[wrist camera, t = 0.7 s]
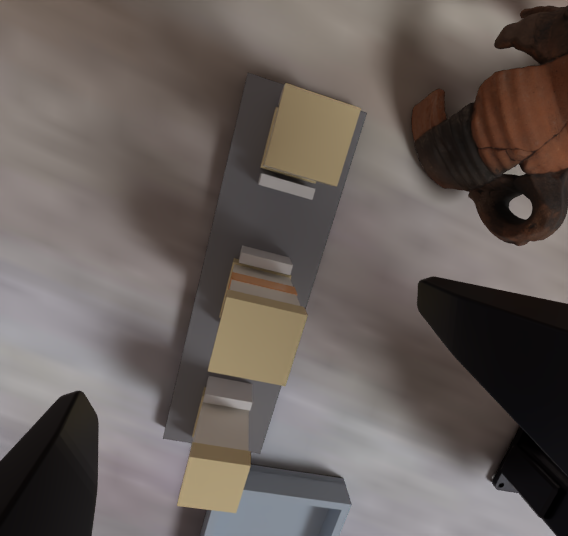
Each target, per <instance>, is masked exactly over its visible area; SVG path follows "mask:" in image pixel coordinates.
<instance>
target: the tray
mask: <svg viewBox="0 0 568 536" xmlns="http://www.w3.org/2000/svg"><path fill="white" fill-rule="evenodd" d="M351 505H352V504H351V501H350V498H349V494H348V491H347V488H346V485H345V482H344V478H337V477H331V476H324V475H317V474H311V473H304V472H297V471H291V470H284V469H277V468H271V467H264V466H258V465H251V467H250V470H249V473H248V476H247V480H246V483H245V486H244V489H243V493H242V496H241V499H240V502H239V506H238V509H237V512H236V513H230V512H222V511H214V510H207V512H206V515H205V519H204V522H203V526H202V529H201V533H200V536H339V535H340V532H341V530H342V527H343V525H344V523H345V520H346V518H347V515H348V513H349V510H350V508H351Z"/></svg>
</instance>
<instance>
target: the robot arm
mask: <svg viewBox="0 0 568 536" xmlns="http://www.w3.org/2000/svg"><path fill="white" fill-rule="evenodd" d="M417 306H418V310H419V312H420V313H421V315H422V316H423V317H424V319H425V320H426V321H427V322H428V324H429V325H430V326H431V328H432V329H433V330H434V332H435V333H436V334H437V335H438V337H439V338H440V339H441V341H442V342H443V343H444V345H445V346H446V347H447V348H448V350H449V351H450V352H451V353H452V354H453V355H454V357H455V358H456V359H457V360H458V361H459V362H460V363H461V364H462V365H463V366H464V367H465V368H466V369H467V370H468V372H469V373H470V374H471V375H472V376H473V377H474V378H475V379H476V380H477V381H478V382H479V383H480V384H481V385H482V386H483V387H484V388H485V390H486V391H487V392H488V393H489V394H490V395H491V396H492V397H493V398H494V399H495V400H496V401H497V402H498V403H499V404H500V405H501V406H502V408H503V409H504V410H505V411H506V412H507V413H508V414H509V415H510V416H511V417H512V418H513V419H514V420H515V421H516V422H517V423H518V424H519V426H520V428H519V430H518V432H517V434H516V436H515V438H514V440H513V442H512V444H511V446H510V448H509V450H508V452H507V454H506V456H505V457H504V459H503V461H502V463H501V465H500V467H499V469H498V471H497V473H496V475H495V477H494V479H493V481H492V484H493V485H494V486H495V488H496V489H497V490H502V491H508V492H514V493H519V494H520V495H521V497H522V498H523V499H524V500H525V501H526V503H527V504H528V505H529V506H530V507H531V508H532V510H533V511H534V512H535V513H536V514H537V516H538V517H540V518H542V519H543V521H544V522H545V523H546V524H547V525H548V527H549V528H550V529H551V530H552V531H553V532H554V534H555V535H556V536H568V304H566V303H561V302H556V301H551V300H546V299H541V298H536V297H531V296H527V295H522V294H517V293H512V292H507V291H502V290H497V289H492V288H488V287H483V286H478V285H473V284H468V283H463V282H458V281H453V280H449V279H444V278H439V277H429V278H426V279H423V280H421V281H419V283H418V296H417ZM97 484H98V417H97V414H96V412H95V411H94V409H93V407H92V406H91V404H90V402H89V401H88V399H87V397H86V396H85V394H84V393H83V392H82V391H75V392H72V393H69V394H66V395H63V396H61V397H60V398H59V399H58V400H57V401H56V402H55V403H54V404H53V405H52V406H51V407H50V408H49V409H48V410H47V411H46V412H45V414H44V415H43V416H42V417H41V418H40V419H39V420H38V421H37V422H36V423H35V424H34V425H33V427H32V428H31V429H30V430H29V431H28V432H27V433H26V434H25V435H24V436H23V437H22V438H21V439H20V441H19V442H18V443H17V444H16V445H15V446H14V447H13V448H12V449H11V450H10V451H9V452H8V453H7V455H6V456H5V457H4V458H3V459H2V460H1V461H0V536H92V528H93V520H94V513H95V505H96V496H97Z"/></svg>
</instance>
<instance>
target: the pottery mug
mask: <svg viewBox="0 0 568 536" xmlns="http://www.w3.org/2000/svg"><path fill="white" fill-rule="evenodd" d="M520 16H521V18H524V19H522V20H521V21H519V22H517V23H512V24H509V25H507V26H506V27H504V28H503V30H502V31H501V32H500V34H499V36H498V37H497V39H496V40H495V44H494V46H495V47H496V48H498V49H505V48H510V47H514V48H515V49H517V50H521V51H523V52H525V53H527V54H529V55H530V56H532V57H533V58H534V59H535V60H536V61H537V62H538V63H539V64H540V65H538V66H535V65H534V66H527V67H523V68H514V69H509V70H502V71H498V72H495V73H494V74H493V75H492V76H491V77H489V78H488V79H487V80H485V81H484V83H483V84H482V85H481V86H480V88H479V90H478V93H477V96H476V100H475V102H474V103H470V104H468V105H467V106H465V107H464V108H463V109H461V110H460V111H459V112H458V113H456V114H455V115H453V116H451V117H450V118H449V119H448V120H447V118H446V113H445V105H444V104H445V101H444V96H445V92H444V91H443V90H441V89H437V90H435V91H433V92H432V93H430V94H429V95H428V96H427V97H426V98H425V99H423V100H422V101H421V102H420V103H419V104H417V105H416V106H415V107H414V108H413V113H412V132H413V138H414V141H415V148H416V151H417V153H418V157H419V161H420V162H421V164H422V166H423V168H424V170H425V172H426V173H427V175H428V176H429V177H430V178H431V179H432V180H434V182H436V183H437V184H438V185H440V186H441V187H443V188H451V189H457V190H465V191H469V192H470V193H469V195H468V196H469V197H470V198H471V199H472V200H473V201H474V203H475V205H476V208H477V211H478V214H479V216H480V218H481V220H482V222H483V223H484V225H485V226H486V227H487V228H488V229H489V231H490V232H491V233H492V234H493V235H495V236H496V237H498V238H499V239H500V240H503V241H504V242H507V243H512V244H515V245H517V246H521V245H525V244H527V243H528V242H529V241H537V240H544V239H546V238H547V237H549V236H550V235H552V234H553V233H554V232H555V231H556V230H557V229H558V228H559V227H560V226H561V224H562V223H563V221H564V219H565V217H566V214H567V209H568V6H566V7H554V6H545V7H544V6H539V7H534V8H531V9H524V10H522V11H521V13H520ZM517 164H519V165H520V167H521V169H522V171H523V172H525V173H526V174H525V175H522V176H517V175H511V174H503V173H505V172H506V171H508V170H510V169H511V168H513V167H515V166H516V165H517ZM522 194H524V195H525V196H526V197H527V198H528V199H530V201H531V203H532V207H533V209H532V214H531V216H530V217H529V218H528V219H527V220H524V219H521V218H518V217H517V216H515V215H514V214H513V213H512V212H511V211H510V210H509V202H510V201H511V200H512V199H513V198H515V197H517V196H520V195H522Z"/></svg>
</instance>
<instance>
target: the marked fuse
mask: <svg viewBox="0 0 568 536" xmlns="http://www.w3.org/2000/svg"><path fill="white" fill-rule="evenodd" d="M291 277H292V276H291V274H290V275H287V274H283V273H279V272H275V271H271V270H266V269H262V268H258V267H254V266H250V265H246V264H242V263H239V259H235V258H234V259H233V263H232V267H231V271H230V275H229V279H228V283H227V287H226V291H225V295H224V299H223V303H222V307H221V311H220V315H219V318H220V322H219V326H218V329H217V334H216V338H215V342H214V346H213V350H212V354H211V358H210V362H209V367H208V372H214V373H219V374H224V375H229V376H234V377H240V378H245V379H250V380H255V381H261V382H266V383H271V384H276V385H281V386H286V383H287V379H288V376H289V373H290V370H291V367H292V364H293V360H294V357H295V354H296V351H297V348H298V345H299V341H300V338H301V335H302V332H303V329H304V326H305V322H306V319H307V316H308V315H307V313H306V310H305V308H304V307H302V306H300V303H299V301H298V298H297V292H296V289H295V287H293V285H292V283H291Z"/></svg>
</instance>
